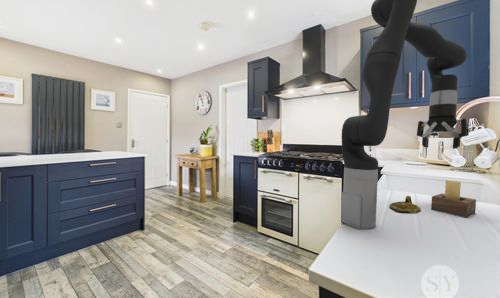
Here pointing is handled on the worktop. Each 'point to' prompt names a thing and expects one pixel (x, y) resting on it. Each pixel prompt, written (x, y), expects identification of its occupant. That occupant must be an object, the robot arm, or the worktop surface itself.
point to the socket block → (454, 205)
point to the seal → (405, 206)
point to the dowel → (452, 190)
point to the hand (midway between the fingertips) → (439, 148)
